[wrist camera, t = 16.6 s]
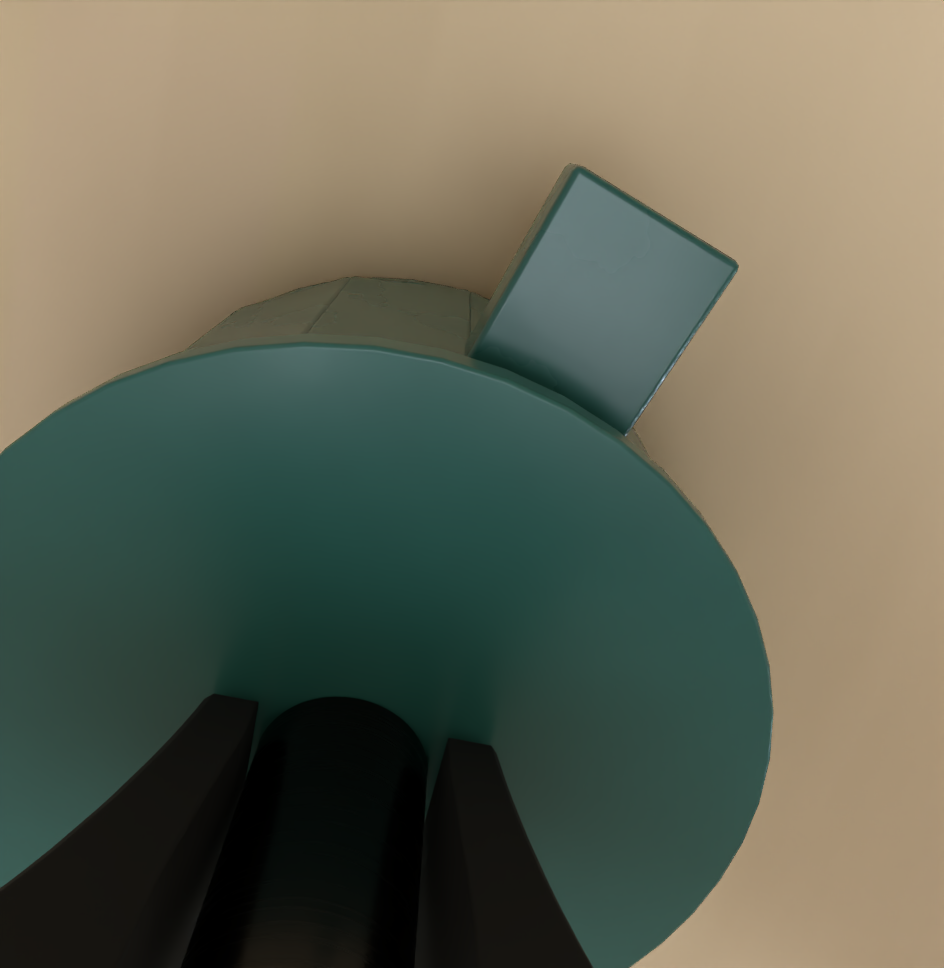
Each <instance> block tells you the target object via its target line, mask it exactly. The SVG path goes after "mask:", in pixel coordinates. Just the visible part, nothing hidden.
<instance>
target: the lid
mask: <svg viewBox="0 0 944 968" xmlns="http://www.w3.org/2000/svg"><path fill="white" fill-rule="evenodd" d="M212 694H219V695H225V696H230V697H235V698H241V699H246V700H251V701H257V702H259V703H258V709H257V715H256V721H255V727H254V733H253V739H252V745H251V751H250V757H249V763H248V770H247V776H246V780H245V783H244V786H243V789H242V792H241V795H240V798H239V801H238V803H237V806H236V809H235V812H234V815H233V818H232V821H231V824H230V827H229V829H228V832H227V835H226V838H225V841H224V844H223V847H222V850H221V852H220V855H219V858H218V861H217V864H216V867H215V870H214V873H213V876H212V878H211V881H210V884H209V887H208V890H207V893H206V896H205V899H204V902H203V904H202V907H201V910H200V913H199V916H198V919H197V922H196V925H195V928H194V930H193V933H192V936H191V939H190V942H189V945H188V948H187V951H186V954H185V956H184V959H183V962H182V965H181V968H414V967H415V953H416V938H417V923H418V908H419V893H420V879H421V864H422V849H423V834H424V822H425V819H426V815H427V811H428V808H429V804H430V801H431V797H432V794H433V790H434V786H435V783H436V779H437V776H438V772H439V769H440V765H441V762H442V758H443V754H444V751H445V747H446V744H447V740H448V738H454V739H459V740H464V741H470V742H475V743H480V744H486V745H491V746H492V747H493V749H494V750H495V752H496V753H497V756H498V759H499V762H500V765H501V768H502V771H503V774H504V777H505V780H506V783H507V786H508V788H509V791H510V794H511V796H512V799H513V802H514V804H515V807H516V809H517V812H518V814H519V817H520V819H521V822H522V824H523V827H524V829H525V831H526V834H527V836H528V838H529V841H530V843H531V845H532V848H533V850H534V852H535V854H536V856H537V858H538V861H539V863H540V865H541V867H542V869H543V872H544V874H545V876H546V878H547V880H548V883H549V885H550V887H551V889H552V891H553V893H554V895H555V897H556V899H557V901H558V903H559V905H560V907H561V909H562V911H563V913H564V915H565V917H566V918H567V920H568V922H569V924H570V926H571V928H572V930H573V932H574V934H575V935H576V937H577V939H578V941H579V943H580V945H581V947H582V948H583V950H584V952H585V954H586V955H587V957H588V959H589V961H590V963H591V964H592V966H593V968H630V967H631V966H632V965H634V964H635V963H636V962H638V961H639V960H640V959H642V958H643V957H644V956H646V955H647V954H648V953H650V952H651V951H652V950H654V949H655V948H656V947H658V946H659V945H660V944H662V943H663V942H664V941H665V940H666V939H667V938H668V937H669V936H670V935H671V934H672V933H673V932H674V931H675V930H676V929H677V928H678V927H679V926H681V925H682V924H683V923H684V922H685V921H686V920H687V919H688V918H689V917H690V916H691V915H692V914H693V913H694V912H695V910H696V909H697V908H698V907H699V906H700V904H701V903H702V902H703V901H704V899H705V898H706V897H707V896H708V894H709V893H710V892H711V891H712V889H713V888H714V887H715V886H716V884H717V883H718V882H719V881H720V879H721V878H722V876H723V874H724V873H725V871H726V869H727V868H728V866H729V864H730V863H731V861H732V859H733V858H734V856H735V854H736V853H737V851H738V849H739V848H740V846H741V844H742V843H743V840H744V838H745V836H746V833H747V831H748V828H749V826H750V824H751V821H752V819H753V816H754V814H755V812H756V809H757V807H758V804H759V801H760V797H761V793H762V789H763V785H764V781H765V777H766V773H767V769H768V764H769V760H770V750H771V737H772V725H773V701H772V689H771V678H770V666H769V662H768V658H767V654H766V650H765V646H764V642H763V638H762V634H761V630H760V627H759V623H758V619H757V616H756V614H755V611H754V609H753V607H752V605H751V602H750V600H749V598H748V595H747V593H746V591H745V589H744V586H743V584H742V582H741V579H740V577H739V575H738V573H737V570H736V569H735V567H734V565H733V564H732V562H731V560H730V559H729V557H728V555H727V554H726V552H725V551H724V549H723V548H722V546H721V544H720V543H719V541H718V540H717V538H716V537H715V535H714V533H713V532H712V530H711V529H710V527H709V526H708V524H707V522H706V521H705V519H704V518H703V516H702V515H701V513H700V512H699V510H698V509H697V508H696V507H695V506H694V505H693V503H692V502H691V501H690V500H689V499H688V498H687V497H686V495H685V494H684V493H683V492H682V491H681V490H680V489H679V487H678V486H677V485H676V484H675V483H674V482H673V481H672V479H671V478H670V477H669V476H668V475H667V474H666V473H665V471H664V470H663V469H662V468H661V467H660V466H658V465H657V464H656V463H655V462H654V461H653V460H651V459H650V458H649V457H648V456H647V455H646V454H644V453H643V452H642V451H641V450H640V449H639V448H637V447H636V446H635V445H634V444H633V443H632V442H630V441H629V440H628V439H627V438H626V437H625V436H623V435H622V434H621V433H620V432H619V431H618V430H616V429H615V428H613V427H611V426H610V425H608V424H607V423H605V422H604V421H602V420H601V419H599V418H598V417H596V416H594V415H593V414H591V413H590V412H588V411H587V410H585V409H584V408H582V407H580V406H579V405H577V404H576V403H574V402H573V401H571V400H570V399H568V398H566V397H565V396H563V395H561V394H558V393H556V392H554V391H552V390H550V389H548V388H546V387H543V386H541V385H539V384H537V383H535V382H533V381H531V380H529V379H526V378H524V377H522V376H520V375H518V374H516V373H514V372H511V371H509V370H507V369H504V368H501V367H498V366H495V365H492V364H489V363H485V362H482V361H479V360H476V359H473V358H470V357H467V356H464V355H460V354H457V353H454V352H451V351H448V350H445V349H440V348H435V347H429V346H424V345H418V344H413V343H407V342H402V341H396V340H391V339H385V338H380V337H367V336H347V335H328V334H298V335H285V336H272V337H259V338H246V339H240V340H235V341H231V342H226V343H221V344H217V345H212V346H207V347H203V348H198V349H193V350H189V351H184V352H179V353H177V354H174V355H171V356H168V357H166V358H163V359H160V360H158V361H155V362H152V363H149V364H147V365H144V366H141V367H138V368H136V369H133V370H130V371H127V372H125V373H122V374H120V375H118V376H116V377H114V378H112V379H110V380H108V381H107V382H105V383H103V384H101V385H99V386H97V387H95V388H94V389H92V390H90V391H88V392H86V393H84V394H83V395H81V396H79V397H77V398H75V399H73V400H71V401H70V402H68V403H66V404H65V405H63V406H62V407H60V408H59V409H57V410H56V411H54V412H53V413H52V414H50V415H49V416H48V417H46V418H45V419H44V420H42V421H41V422H40V423H38V424H37V425H36V426H34V427H33V428H32V429H30V430H29V431H28V432H26V433H25V434H24V435H23V436H21V437H20V438H19V439H17V440H16V441H15V442H13V443H12V444H11V445H9V446H8V447H7V448H5V450H4V451H3V452H2V453H1V454H0V888H1V887H2V886H4V885H5V884H6V883H8V882H9V881H10V880H12V879H13V878H14V877H15V876H17V875H18V874H19V873H21V872H22V871H23V870H25V869H26V868H27V867H28V866H30V865H31V864H32V863H33V862H35V861H36V860H37V859H38V858H40V857H41V856H42V855H43V854H45V853H46V852H47V851H48V850H50V849H51V848H52V847H53V846H55V845H56V844H57V843H58V842H59V841H60V840H62V839H63V838H64V837H65V836H66V835H67V834H68V833H70V832H71V831H72V830H73V829H74V828H75V827H77V826H78V825H79V824H80V823H81V822H82V821H84V820H85V819H86V818H87V817H88V816H89V815H91V814H92V813H93V812H94V811H95V810H96V809H98V808H99V807H100V806H101V805H102V804H103V803H104V802H105V801H106V800H108V799H109V798H110V797H111V796H112V795H113V794H114V793H115V792H116V791H117V790H118V789H119V788H120V787H121V786H122V785H123V784H124V783H125V782H127V781H128V780H129V779H130V778H131V777H132V776H133V775H134V774H135V773H136V772H137V771H138V770H139V769H140V768H141V767H142V766H143V765H144V764H145V763H146V762H147V761H148V760H149V759H150V758H151V757H152V756H153V755H154V754H155V753H156V752H157V751H158V750H159V749H160V748H161V747H162V746H163V745H164V744H165V743H166V742H167V741H168V740H169V739H170V738H171V737H172V735H173V734H174V733H175V732H176V731H177V730H178V729H179V728H180V727H181V726H182V725H183V723H184V722H185V721H186V720H187V719H188V718H189V717H190V715H191V714H192V713H193V712H194V711H195V710H196V708H197V707H198V706H199V705H200V704H201V702H202V701H203V700H204V699H205V698H207V697H208V696H210V695H212Z"/></svg>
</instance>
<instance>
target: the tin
mask: <svg viewBox="0 0 944 968" xmlns="http://www.w3.org/2000/svg"><path fill="white" fill-rule="evenodd" d="M738 266H739V265H738V264H737V262H736V261H735V260H734V259H732V258H731V257H729V256H727V255H726V254H724V253H723V252H721V251H719V250H718V249H716V248H714V247H713V246H711V245H710V244H708V243H706V242H705V241H703V240H701V239H700V238H698V237H697V236H695V235H693V234H692V233H690V232H689V231H687V230H685V229H684V228H682V227H680V226H679V225H677V224H676V223H674V222H672V221H671V220H669V219H667V218H666V217H664V216H663V215H661V214H659V213H658V212H656V211H654V210H653V209H651V208H650V207H648V206H646V205H645V204H643V203H642V202H640V201H638V200H637V199H635V198H633V197H632V196H630V195H629V194H627V193H625V192H624V191H622V190H620V189H619V188H617V187H616V186H614V185H612V184H611V183H609V182H608V181H606V180H604V179H603V178H601V177H599V176H598V175H596V174H595V173H593V172H591V171H590V170H588V169H586V168H585V167H583V166H580V165H577V164H571V163H570V164H568V165H567V166H566V167H565V168H564V170H563V172H562V174H561V175H560V177H559V179H558V181H557V182H556V184H555V186H554V188H553V189H552V191H551V193H550V195H549V197H548V198H547V200H546V202H545V204H544V205H543V207H542V209H541V211H540V212H539V214H538V216H537V218H536V220H535V221H534V223H533V225H532V227H531V228H530V230H529V232H528V234H527V235H526V237H525V239H524V241H523V243H522V244H521V246H520V248H519V250H518V251H517V253H516V255H515V257H514V258H513V260H512V262H511V264H510V266H509V267H508V269H507V271H506V273H505V274H504V276H503V278H502V280H501V281H500V283H499V285H498V287H497V288H496V290H495V292H494V294H493V296H492V297H491V299H490V300H489V299H486V298H483V297H481V296H480V295H478V294H476V293H474V292H471V293H470V292H469V291H468V290H462V289H456V288H453V287H449V286H444V285H439V284H433V283H428V282H423V281H417V280H411V279H393V278H362V277H352V278H349V277H346V278H343V279H339V280H336V281H331V282H327V283H322V284H317V285H313V286H308V287H304V288H299V289H296V290H293V291H291V292H288V293H285V294H282V295H280V296H277V297H274V298H272V299H269V300H266V301H263V302H260V303H257V304H253V305H250V306H247V307H243V308H241V309H240V310H238V311H235V312H234V313H232V314H231V315H230V316H229V317H227V318H226V319H225V320H223V321H222V322H221V323H219V324H218V325H217V326H216V327H214V328H213V329H212V330H210V331H209V332H208V333H207V334H205V335H204V336H203V337H201V338H200V339H199V340H198V341H196V342H195V343H194V344H192V345H191V346H190V347H188V348H187V349H186V350H185V351H189V350H193V349H198V348H203V347H207V346H212V345H217V344H221V343H226V342H231V341H235V340H240V339H246V338H259V337H272V336H285V335H298V334H328V335H347V336H367V337H380V338H385V339H391V340H396V341H402V342H407V343H413V344H418V345H424V346H429V347H435V348H440V349H445V350H448V351H451V352H454V353H457V354H460V355H464V356H467V357H470V358H473V359H476V360H479V361H482V362H485V363H489V364H492V365H495V366H498V367H501V368H504V369H507V370H509V371H511V372H514V373H516V374H518V375H520V376H522V377H524V378H526V379H529V380H531V381H533V382H535V383H537V384H539V385H541V386H543V387H546V388H548V389H550V390H552V391H554V392H556V393H558V394H561V395H563V396H565V397H566V398H568V399H570V400H571V401H573V402H574V403H576V404H577V405H579V406H580V407H582V408H584V409H585V410H587V411H588V412H590V413H591V414H593V415H594V416H596V417H598V418H599V419H601V420H602V421H604V422H605V423H607V424H608V425H610V426H611V427H613V428H615V429H616V430H618V431H619V432H620V433H621V434H622V435H623V436H625V437H626V438H627V439H628V440H629V441H630V442H632V443H633V444H634V445H635V446H636V447H637V448H639V449H640V450H641V451H642V452H643V453H644V454H646V455H647V456H648V457H649V455H648V453H647V451H646V450H645V448H644V446H643V444H642V442H641V440H640V438H639V437H638V435H637V433H636V431H635V430H634V429H633V426H634V424H635V423H636V421H637V420H638V418H639V417H640V415H641V414H642V412H643V411H644V409H645V408H646V406H647V405H648V403H649V402H650V400H651V399H652V398H653V396H654V395H655V393H656V392H657V390H658V389H659V387H660V386H661V384H662V383H663V381H664V380H665V378H666V377H667V375H668V374H669V372H670V371H671V369H672V368H673V366H674V365H675V363H676V362H677V360H678V359H679V357H680V356H681V354H682V353H683V351H684V350H685V348H686V347H687V345H688V344H689V342H690V341H691V339H692V338H693V336H694V335H695V333H696V332H697V330H698V329H699V328H700V326H701V325H702V323H703V322H704V320H705V319H706V317H707V316H708V314H709V313H710V311H711V310H712V308H713V307H714V305H715V304H716V302H717V301H718V299H719V298H720V296H721V295H722V293H723V292H724V290H725V289H726V287H727V286H728V284H729V283H730V281H731V280H732V278H733V277H734V275H735V274H736V272H737V270H738ZM183 352H184V351H183ZM649 458H650V457H649Z"/></svg>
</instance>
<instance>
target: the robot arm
mask: <svg viewBox="0 0 944 968" xmlns="http://www.w3.org/2000/svg"><path fill="white" fill-rule="evenodd" d="M258 703H259V702H257V701H251V700H246V699H241V698H235V697H230V696H225V695H219V694H212V695H210V696H208V697H207V698H205V699H204V700H203V701H202V702H201V704H200V705H199V706H198V707H197V708H196V710H195V711H194V712H193V713H192V714H191V715H190V717H189V718H188V719H187V720H186V721H185V722H184V723H183V725H182V726H181V727H180V728H179V729H178V730H177V731H176V732H175V733H174V734H173V735H172V737H171V738H170V739H169V740H168V741H167V742H166V743H165V744H164V745H163V746H162V747H161V748H160V749H159V750H158V751H157V752H156V753H155V754H154V755H153V756H152V757H151V758H150V759H149V760H148V761H147V762H146V763H145V764H144V765H143V766H142V767H141V768H140V769H139V770H138V771H137V772H136V773H135V774H134V775H133V776H132V777H131V778H130V779H129V780H128V781H127V782H125V783H124V784H123V785H122V786H121V787H120V788H119V789H118V790H117V791H116V792H115V793H114V794H113V795H112V796H111V797H110V798H109V799H108V800H106V801H105V802H104V803H103V804H102V805H101V806H100V807H99V808H98V809H96V810H95V811H94V812H93V813H92V814H91V815H89V816H88V817H87V818H86V819H85V820H84V821H82V822H81V823H80V824H79V825H78V826H77V827H75V828H74V829H73V830H72V831H71V832H70V833H68V834H67V835H66V836H65V837H64V838H63V839H62V840H60V841H59V842H58V843H57V844H56V845H55V846H53V847H52V848H51V849H50V850H48V851H47V852H46V853H45V854H43V855H42V856H41V857H40V858H38V859H37V860H36V861H35V862H33V863H32V864H31V865H30V866H28V867H27V868H26V869H25V870H23V871H22V872H21V873H19V874H18V875H17V876H15V877H14V878H13V879H12V880H10V881H9V882H8V883H6V884H5V885H4V886H2V887H1V888H0V968H181V965H182V962H183V959H184V956H185V954H186V951H187V948H188V945H189V942H190V939H191V936H192V933H193V930H194V928H195V925H196V922H197V919H198V916H199V913H200V910H201V907H202V904H203V902H204V899H205V896H206V893H207V890H208V887H209V884H210V881H211V878H212V876H213V873H214V870H215V867H216V864H217V861H218V858H219V855H220V852H221V850H222V847H223V844H224V841H225V838H226V835H227V832H228V829H229V827H230V824H231V821H232V818H233V815H234V812H235V809H236V806H237V803H238V801H239V798H240V795H241V792H242V789H243V786H244V783H245V780H246V776H247V770H248V763H249V757H250V751H251V745H252V739H253V733H254V727H255V721H256V715H257V709H258ZM414 968H593V966H592V964H591V963H590V961H589V959H588V957H587V955H586V954H585V952H584V950H583V948H582V947H581V945H580V943H579V941H578V939H577V937H576V935H575V934H574V932H573V930H572V928H571V926H570V924H569V922H568V920H567V918H566V917H565V915H564V913H563V911H562V909H561V907H560V905H559V903H558V901H557V899H556V897H555V895H554V893H553V891H552V889H551V887H550V885H549V883H548V880H547V878H546V876H545V874H544V872H543V869H542V867H541V865H540V863H539V861H538V858H537V856H536V854H535V852H534V850H533V848H532V845H531V843H530V841H529V838H528V836H527V834H526V831H525V829H524V827H523V824H522V822H521V819H520V817H519V814H518V812H517V809H516V807H515V804H514V802H513V799H512V796H511V794H510V791H509V788H508V786H507V783H506V780H505V777H504V774H503V771H502V768H501V765H500V762H499V759H498V756H497V753H496V752H495V750H494V749H493V747H492V746H491V745H486V744H480V743H475V742H470V741H464V740H459V739H454V738H448V740H447V744H446V747H445V751H444V754H443V758H442V762H441V765H440V769H439V772H438V776H437V779H436V783H435V786H434V790H433V794H432V797H431V801H430V804H429V808H428V811H427V815H426V819H425V822H424V834H423V849H422V864H421V879H420V893H419V908H418V923H417V938H416V953H415V967H414Z"/></svg>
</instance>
